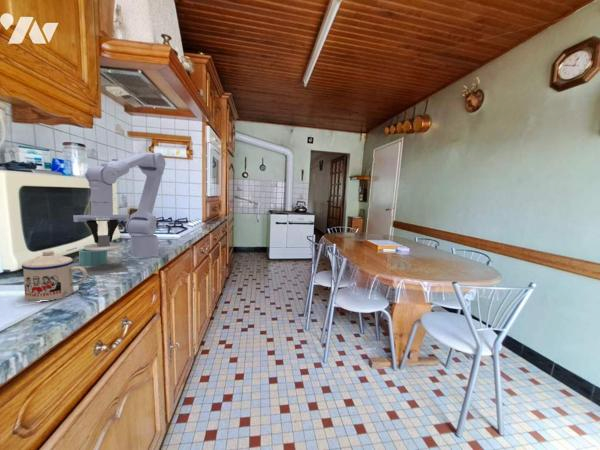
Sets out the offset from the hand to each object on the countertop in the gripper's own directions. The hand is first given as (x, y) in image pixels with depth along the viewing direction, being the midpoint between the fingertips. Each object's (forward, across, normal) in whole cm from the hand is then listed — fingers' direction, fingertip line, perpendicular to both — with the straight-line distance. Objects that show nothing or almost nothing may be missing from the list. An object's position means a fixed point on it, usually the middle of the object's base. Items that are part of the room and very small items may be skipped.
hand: (103, 242), depth 85 cm
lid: (+2, 0, 0) cm, 2 cm away
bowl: (+10, -2, +8) cm, 13 cm away
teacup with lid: (+10, -13, -20) cm, 25 cm away
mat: (+9, 0, -3) cm, 10 cm away
